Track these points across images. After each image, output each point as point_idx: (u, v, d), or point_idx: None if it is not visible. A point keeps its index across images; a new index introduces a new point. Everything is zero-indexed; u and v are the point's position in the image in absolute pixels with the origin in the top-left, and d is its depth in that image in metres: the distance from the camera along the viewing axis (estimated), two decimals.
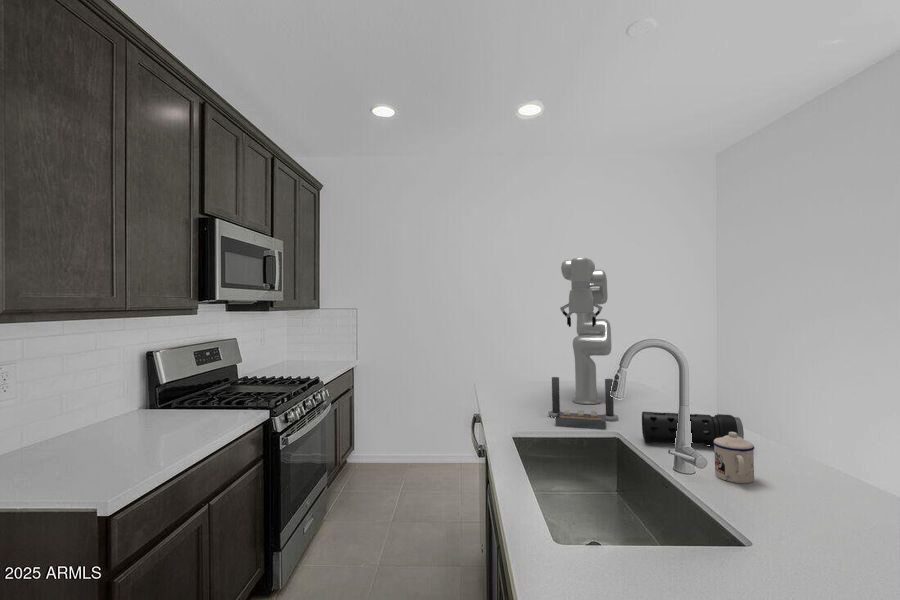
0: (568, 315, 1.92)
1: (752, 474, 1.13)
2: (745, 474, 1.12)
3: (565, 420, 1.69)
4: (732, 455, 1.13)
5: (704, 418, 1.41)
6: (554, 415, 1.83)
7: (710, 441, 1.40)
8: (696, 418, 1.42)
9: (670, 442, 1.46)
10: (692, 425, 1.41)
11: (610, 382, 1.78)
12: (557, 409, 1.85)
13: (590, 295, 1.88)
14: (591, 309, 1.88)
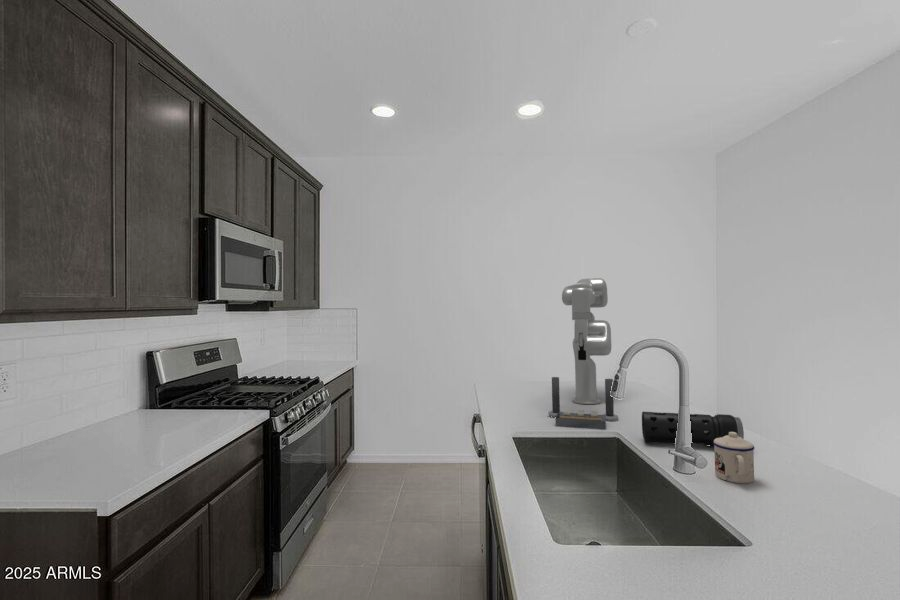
0: (585, 348, 1.89)
1: (752, 474, 1.13)
2: (745, 474, 1.12)
3: (565, 420, 1.69)
4: (732, 455, 1.13)
5: (704, 418, 1.41)
6: (554, 415, 1.83)
7: (710, 441, 1.40)
8: (696, 418, 1.42)
9: (671, 442, 1.46)
10: (692, 425, 1.41)
11: (610, 382, 1.78)
12: (557, 409, 1.85)
13: None
14: None
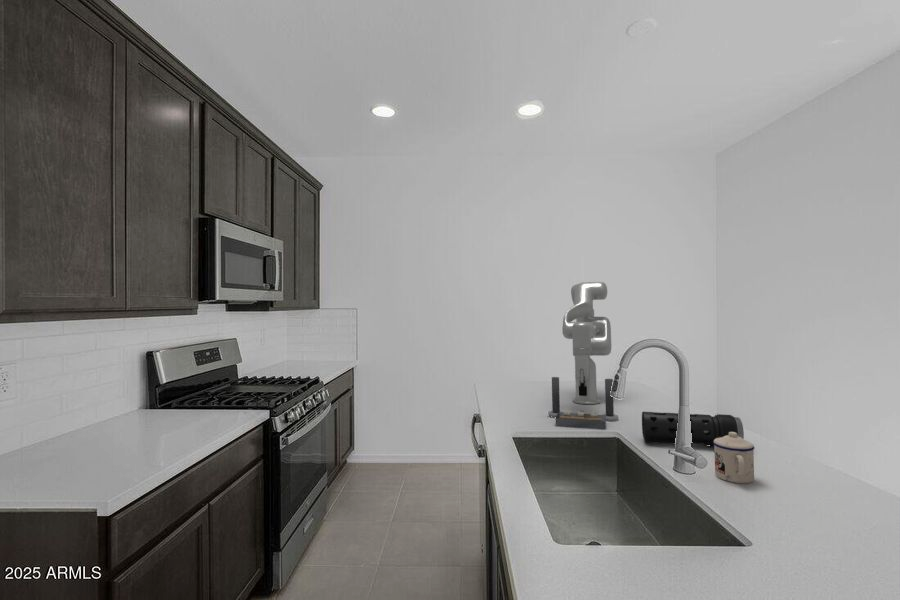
0: (585, 384, 1.88)
1: (752, 474, 1.13)
2: (745, 474, 1.12)
3: (565, 420, 1.69)
4: (732, 455, 1.13)
5: (704, 418, 1.41)
6: (554, 415, 1.83)
7: (710, 441, 1.40)
8: (696, 418, 1.42)
9: (671, 442, 1.46)
10: (692, 425, 1.41)
11: (610, 382, 1.78)
12: (557, 409, 1.85)
13: None
14: None
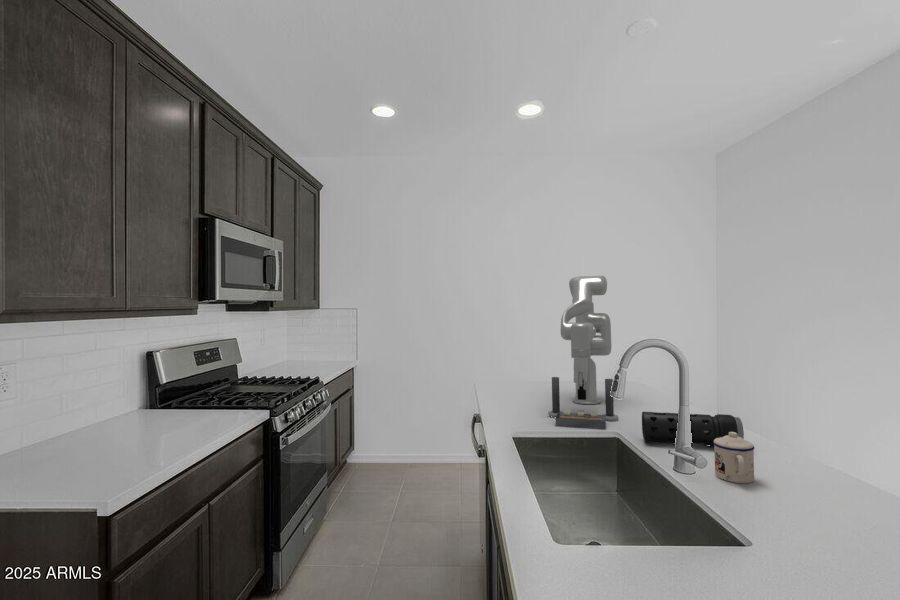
0: (584, 387, 1.80)
1: (752, 474, 1.13)
2: (745, 474, 1.12)
3: (565, 420, 1.69)
4: (732, 455, 1.13)
5: (704, 418, 1.41)
6: (554, 415, 1.83)
7: (710, 441, 1.40)
8: (696, 418, 1.42)
9: (671, 442, 1.46)
10: (692, 425, 1.41)
11: (610, 382, 1.78)
12: (557, 409, 1.85)
13: None
14: None
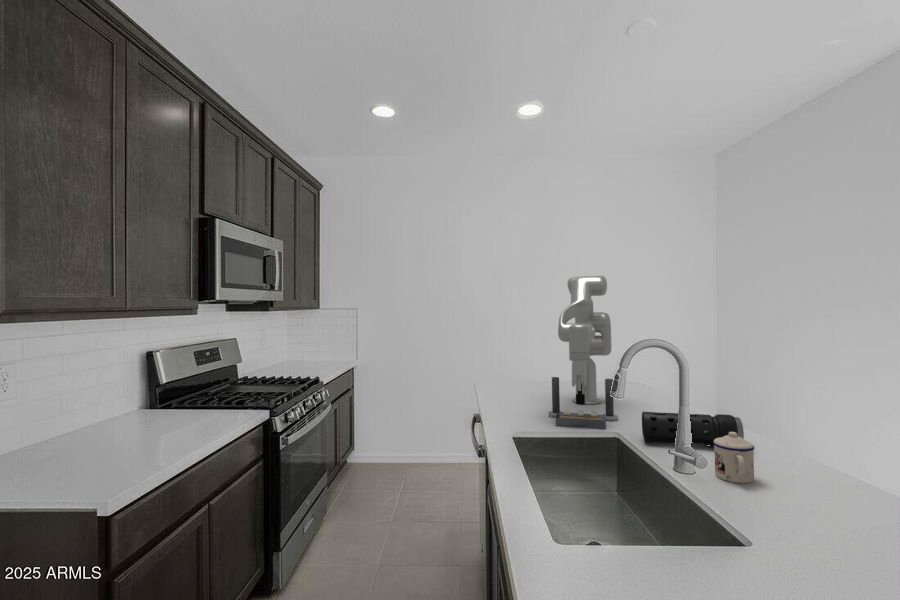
0: (583, 391, 1.71)
1: (752, 474, 1.13)
2: (745, 474, 1.12)
3: (565, 420, 1.69)
4: (732, 455, 1.13)
5: (704, 418, 1.41)
6: (554, 415, 1.83)
7: (710, 441, 1.40)
8: (696, 418, 1.42)
9: (671, 442, 1.46)
10: (692, 425, 1.41)
11: (610, 382, 1.78)
12: (557, 409, 1.85)
13: None
14: None
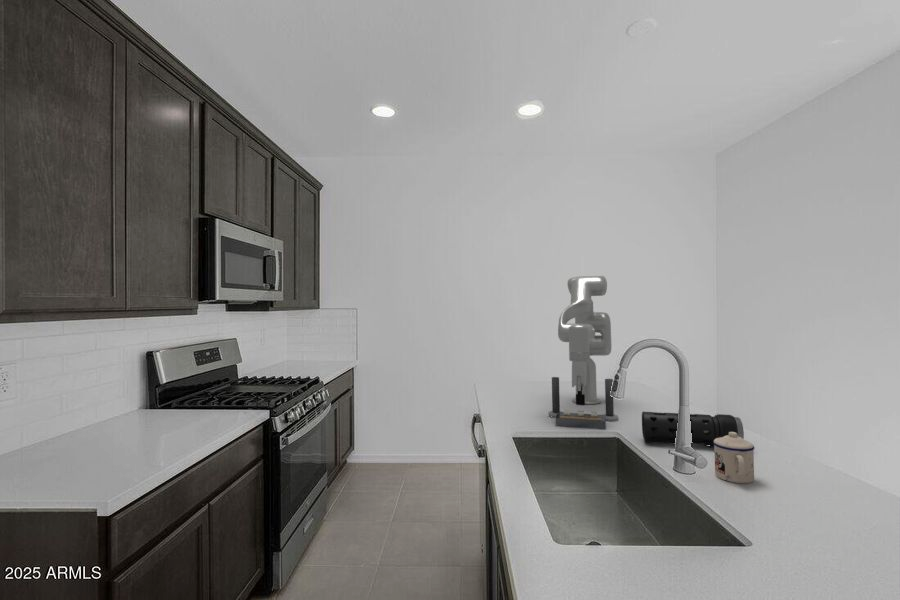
0: (583, 392, 1.71)
1: (752, 474, 1.13)
2: (745, 474, 1.12)
3: (565, 420, 1.69)
4: (732, 455, 1.13)
5: (704, 418, 1.41)
6: (554, 415, 1.83)
7: (710, 441, 1.40)
8: (696, 418, 1.42)
9: (671, 442, 1.46)
10: (692, 425, 1.41)
11: (610, 382, 1.78)
12: (557, 409, 1.85)
13: None
14: None
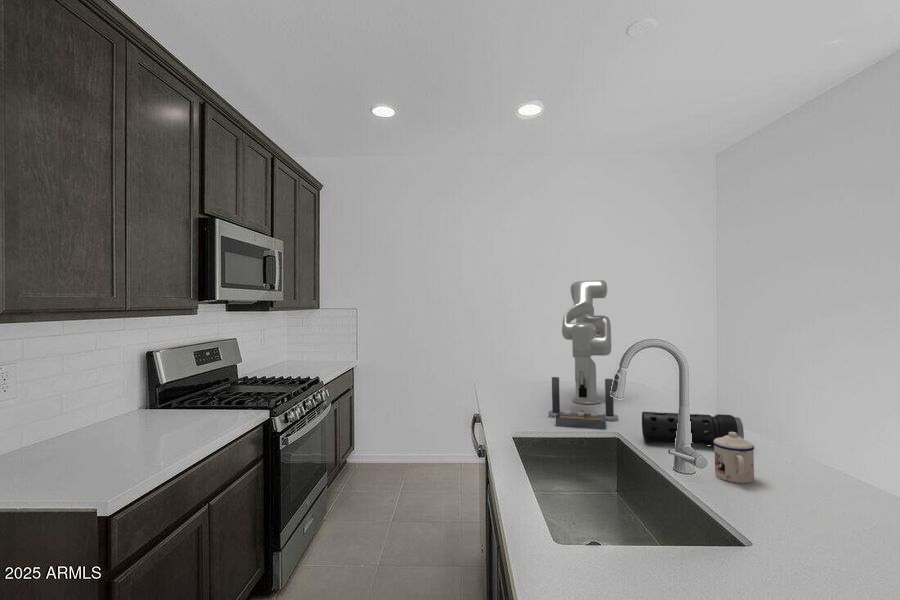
0: (585, 385, 1.87)
1: (752, 474, 1.13)
2: (745, 474, 1.12)
3: (565, 420, 1.69)
4: (732, 455, 1.13)
5: (704, 418, 1.41)
6: (554, 415, 1.83)
7: (710, 441, 1.40)
8: (696, 418, 1.42)
9: (671, 442, 1.46)
10: (692, 425, 1.41)
11: (610, 382, 1.78)
12: (557, 409, 1.85)
13: None
14: None
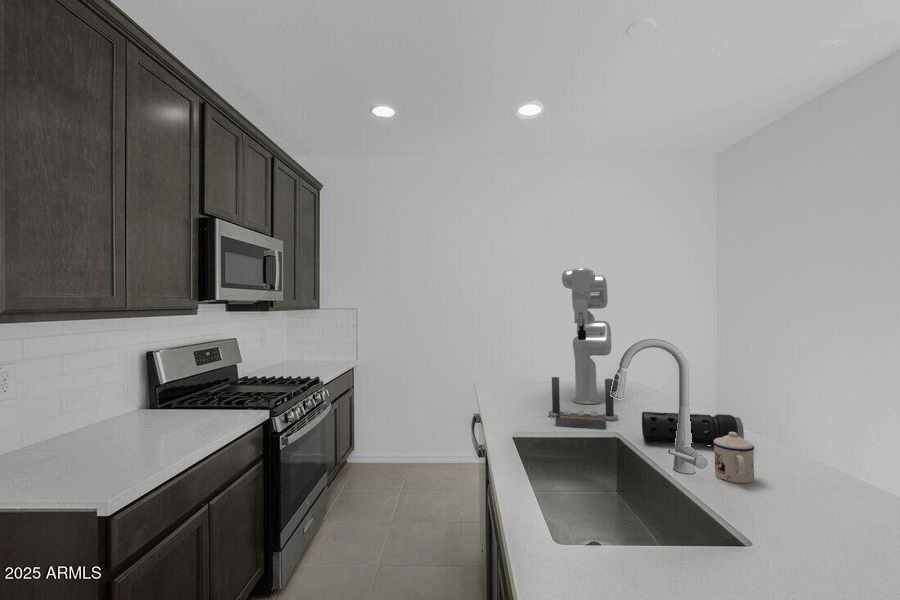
0: (584, 328, 1.91)
1: (752, 474, 1.13)
2: (745, 474, 1.12)
3: (565, 420, 1.69)
4: (732, 455, 1.13)
5: (704, 418, 1.41)
6: (554, 415, 1.83)
7: (710, 441, 1.40)
8: (696, 418, 1.42)
9: (671, 442, 1.46)
10: (692, 425, 1.41)
11: (610, 382, 1.78)
12: (557, 409, 1.85)
13: None
14: None
